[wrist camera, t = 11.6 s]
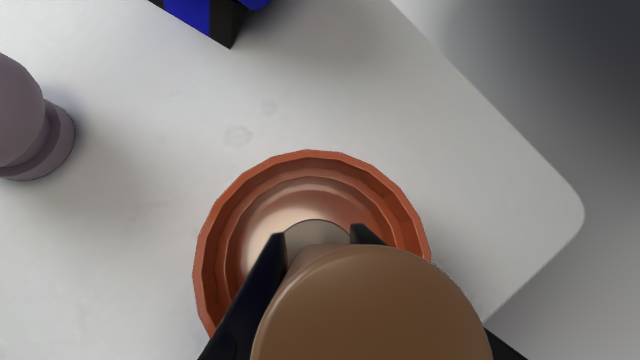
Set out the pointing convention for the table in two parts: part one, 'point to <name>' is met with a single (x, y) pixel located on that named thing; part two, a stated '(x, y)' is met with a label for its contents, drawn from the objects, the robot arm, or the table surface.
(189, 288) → the table surface
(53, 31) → the table surface
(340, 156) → the mixing bowl
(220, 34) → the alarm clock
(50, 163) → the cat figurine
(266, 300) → the robot arm
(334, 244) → the wooden peg on base
